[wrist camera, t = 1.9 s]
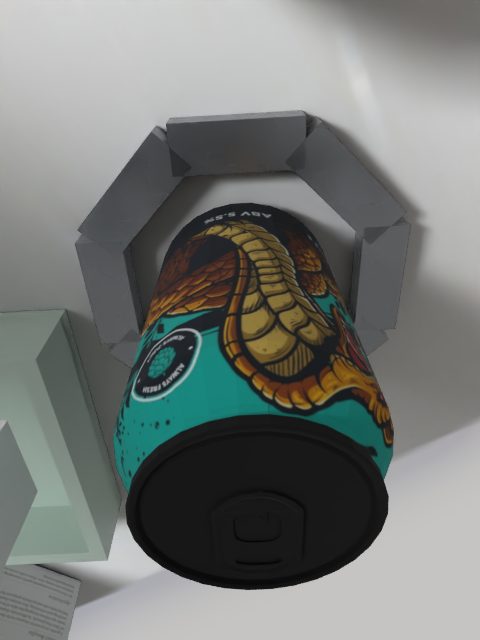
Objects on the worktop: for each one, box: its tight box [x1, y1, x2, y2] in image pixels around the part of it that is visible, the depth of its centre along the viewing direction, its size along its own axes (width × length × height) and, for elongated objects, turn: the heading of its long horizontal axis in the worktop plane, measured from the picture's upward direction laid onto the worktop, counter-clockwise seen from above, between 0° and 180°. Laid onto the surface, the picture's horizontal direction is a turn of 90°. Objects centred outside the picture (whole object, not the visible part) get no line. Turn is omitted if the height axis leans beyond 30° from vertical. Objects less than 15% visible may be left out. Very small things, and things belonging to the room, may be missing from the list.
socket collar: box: [75, 110, 411, 368], centre depth 20 cm, size 13×13×1 cm
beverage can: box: [113, 203, 394, 590], centre depth 15 cm, size 7×7×12 cm
